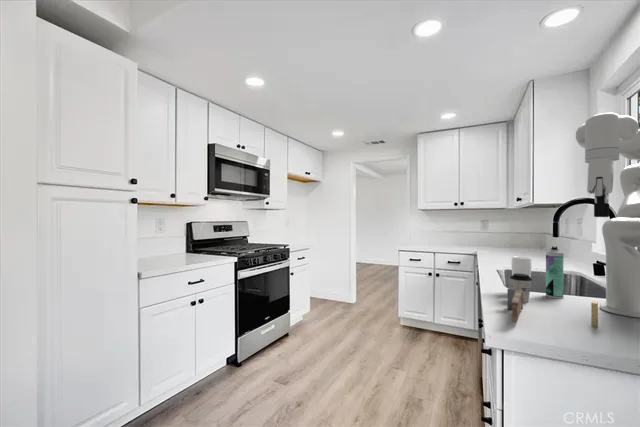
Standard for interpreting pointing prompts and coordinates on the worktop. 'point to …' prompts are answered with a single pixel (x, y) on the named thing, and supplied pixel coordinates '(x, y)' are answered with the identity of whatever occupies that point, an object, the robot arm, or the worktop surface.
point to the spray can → (554, 273)
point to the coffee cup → (522, 284)
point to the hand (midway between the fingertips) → (601, 216)
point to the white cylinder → (521, 265)
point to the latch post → (594, 314)
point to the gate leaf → (517, 304)
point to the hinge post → (510, 297)
